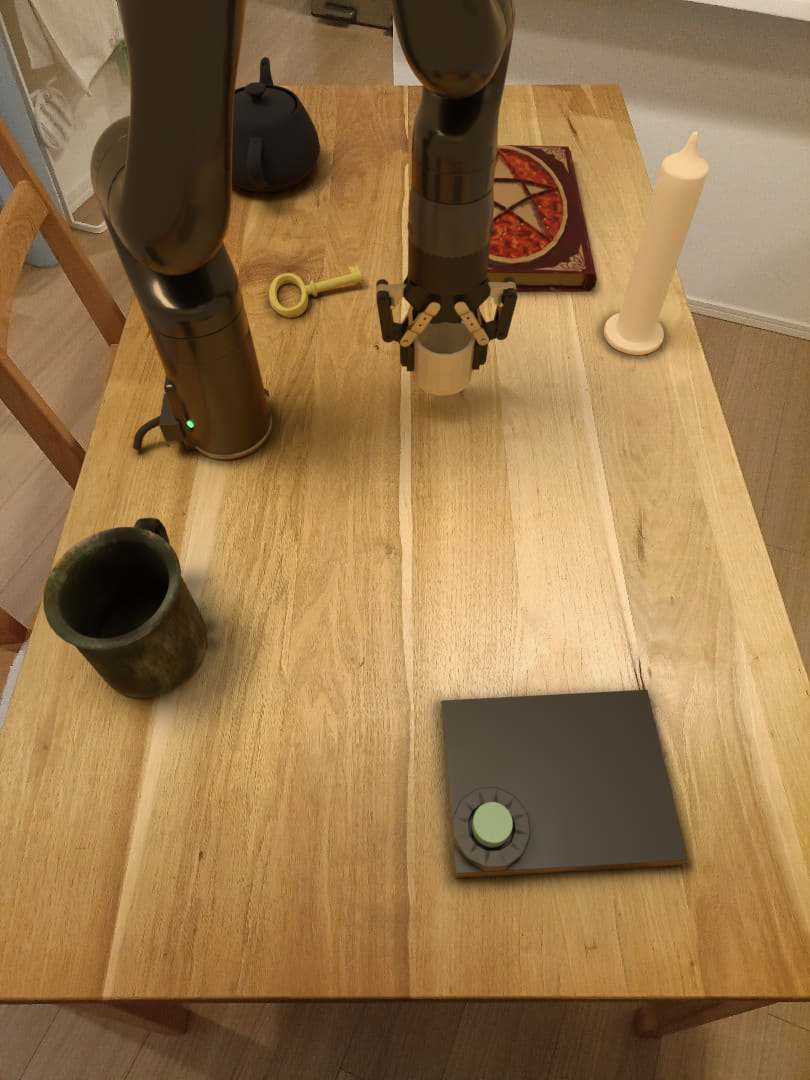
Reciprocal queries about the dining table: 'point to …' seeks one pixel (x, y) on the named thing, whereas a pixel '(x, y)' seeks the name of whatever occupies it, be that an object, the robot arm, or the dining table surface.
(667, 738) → the dining table surface
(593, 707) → the scale
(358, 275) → the key
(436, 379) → the beige cup
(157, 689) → the mug
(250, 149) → the teapot
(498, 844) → the button
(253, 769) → the dining table surface
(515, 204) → the book
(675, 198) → the candle
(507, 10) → the robot arm
